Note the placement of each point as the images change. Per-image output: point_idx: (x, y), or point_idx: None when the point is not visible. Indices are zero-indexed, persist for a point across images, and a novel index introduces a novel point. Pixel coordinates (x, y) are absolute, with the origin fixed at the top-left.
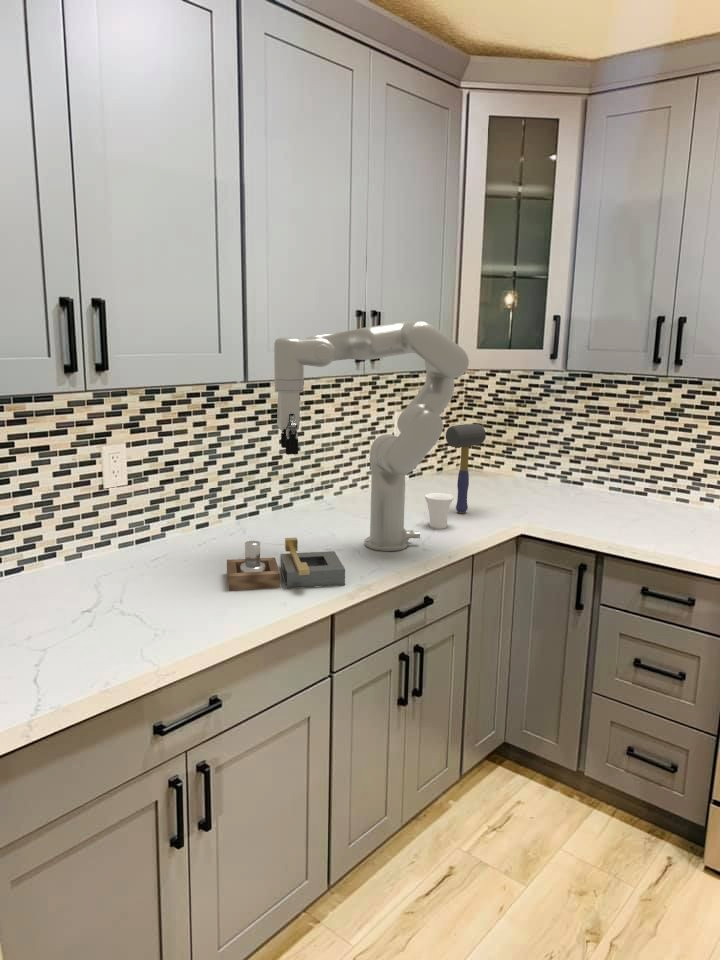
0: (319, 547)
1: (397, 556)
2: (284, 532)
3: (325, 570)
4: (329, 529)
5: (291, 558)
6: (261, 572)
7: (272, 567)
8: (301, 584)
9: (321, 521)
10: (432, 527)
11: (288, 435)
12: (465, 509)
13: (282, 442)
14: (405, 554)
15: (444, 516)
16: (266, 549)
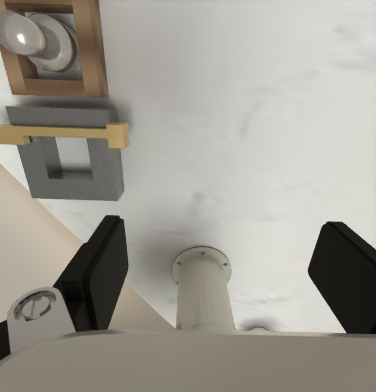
0: (211, 187)
1: (153, 269)
2: (311, 146)
3: (24, 170)
4: (297, 219)
5: (81, 126)
6: (13, 58)
7: (43, 84)
8: None
9: (345, 216)
10: (253, 328)
11: (11, 331)
12: None
13: (342, 244)
14: (159, 278)
15: None
16: (222, 97)
